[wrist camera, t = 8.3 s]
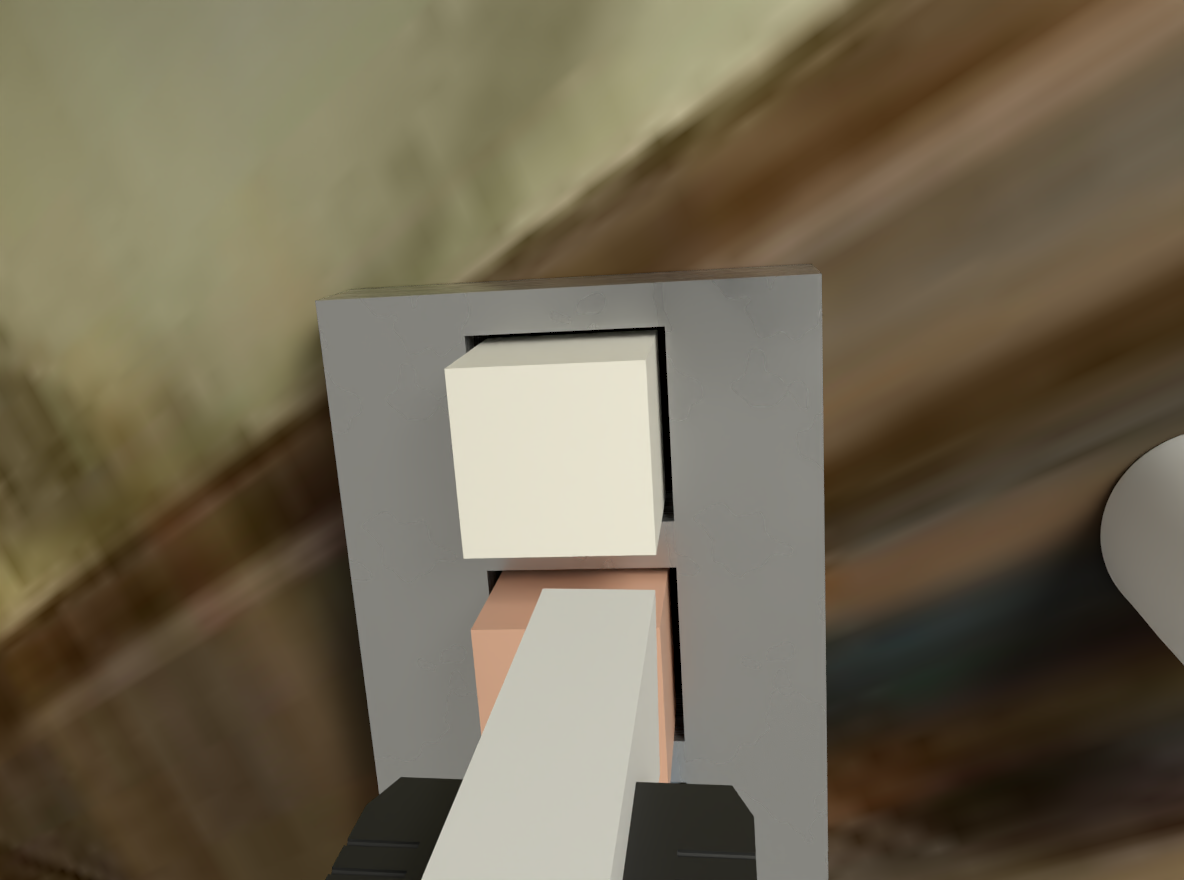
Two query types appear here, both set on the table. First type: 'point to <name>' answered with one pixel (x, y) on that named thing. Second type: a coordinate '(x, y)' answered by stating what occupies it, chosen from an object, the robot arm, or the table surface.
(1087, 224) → the table surface
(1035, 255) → the table surface
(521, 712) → the robot arm
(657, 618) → the terracotta key
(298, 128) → the table surface
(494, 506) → the cream cube
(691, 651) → the grey slotted board
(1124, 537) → the mug
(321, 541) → the table surface
